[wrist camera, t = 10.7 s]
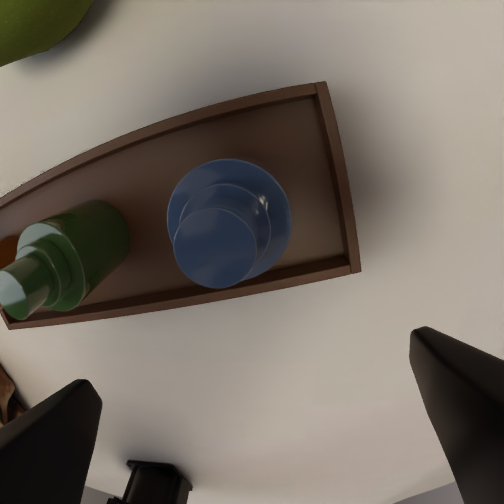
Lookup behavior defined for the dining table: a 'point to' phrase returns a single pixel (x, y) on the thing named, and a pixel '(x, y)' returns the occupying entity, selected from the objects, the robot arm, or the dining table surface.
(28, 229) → the green bottle
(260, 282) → the tray
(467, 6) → the dining table surface
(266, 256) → the blue bottle
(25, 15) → the apple
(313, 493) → the dining table surface
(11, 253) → the amber bottle
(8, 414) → the skull
